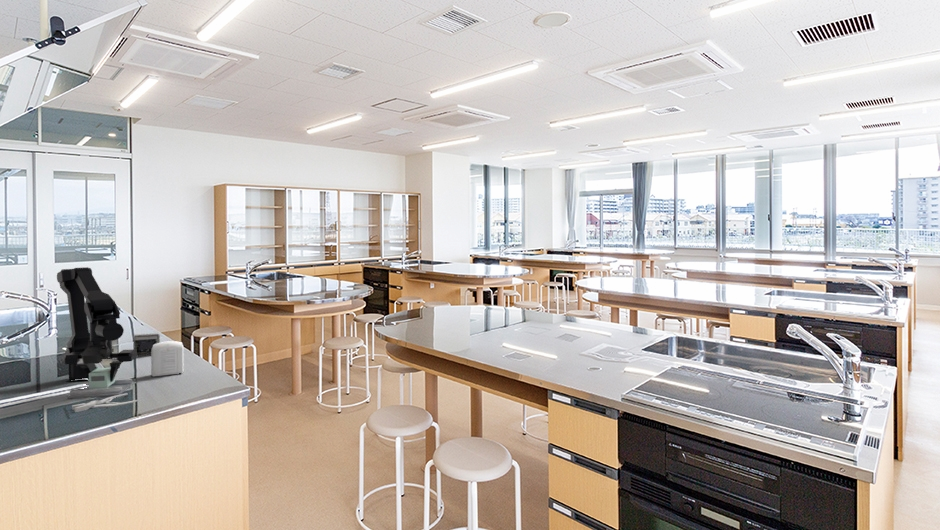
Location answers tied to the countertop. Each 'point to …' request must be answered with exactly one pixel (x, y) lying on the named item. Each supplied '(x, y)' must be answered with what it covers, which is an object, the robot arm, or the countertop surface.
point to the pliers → (95, 403)
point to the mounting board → (102, 389)
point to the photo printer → (167, 358)
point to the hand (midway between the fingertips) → (102, 382)
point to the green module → (100, 378)
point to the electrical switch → (145, 343)
